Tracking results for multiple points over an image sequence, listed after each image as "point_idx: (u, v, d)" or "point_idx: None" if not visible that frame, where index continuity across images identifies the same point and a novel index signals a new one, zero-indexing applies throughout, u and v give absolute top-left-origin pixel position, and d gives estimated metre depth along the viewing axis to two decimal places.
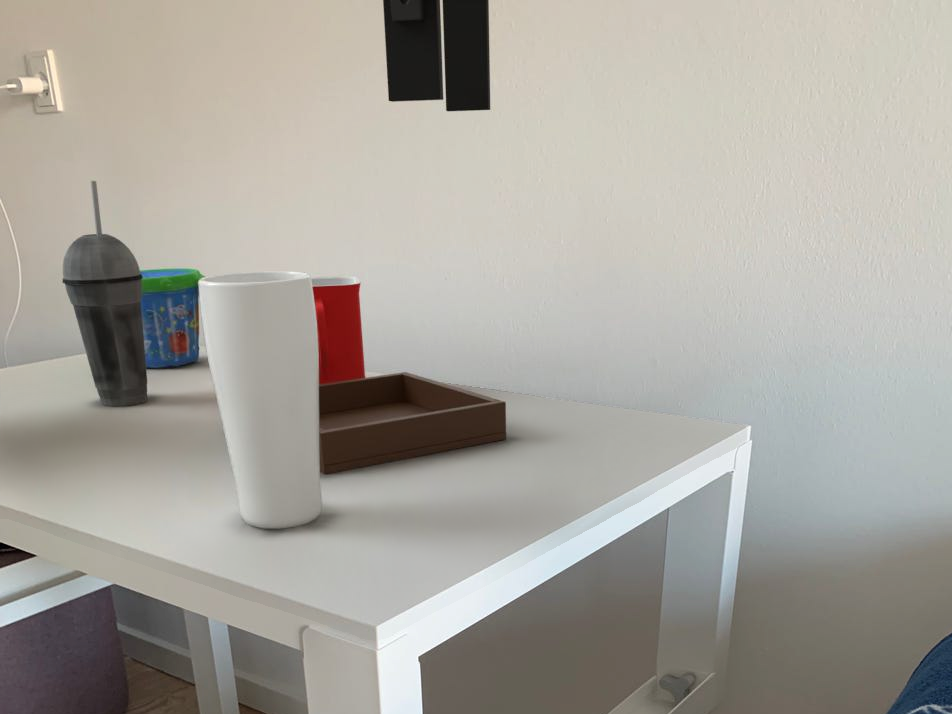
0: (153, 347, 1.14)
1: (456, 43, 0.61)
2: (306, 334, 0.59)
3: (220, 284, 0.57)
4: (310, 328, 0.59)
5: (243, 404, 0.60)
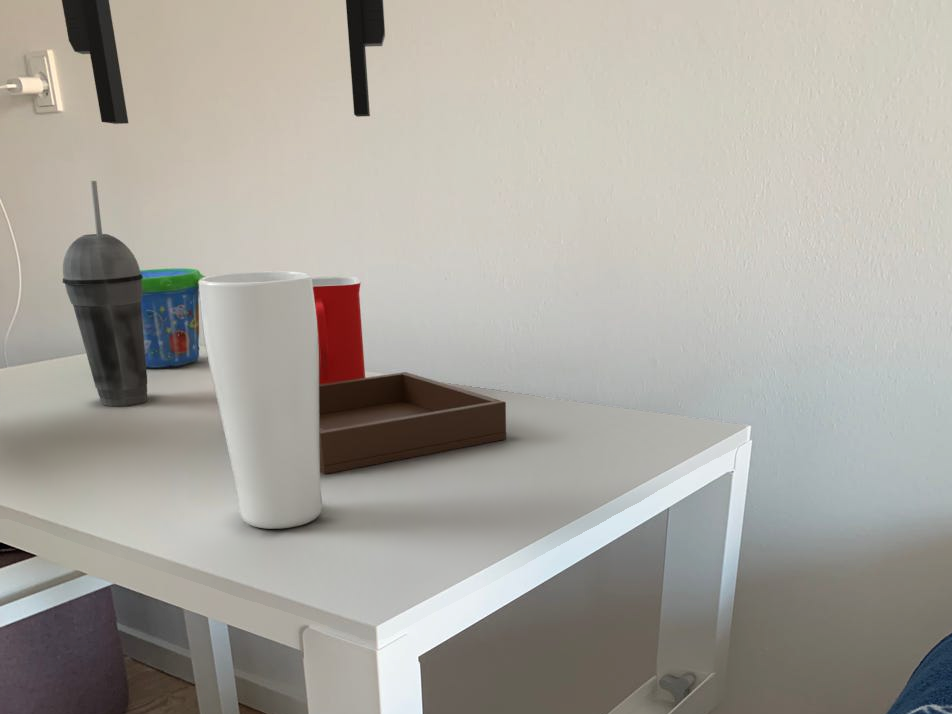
0: (153, 347, 1.14)
1: None
2: (306, 334, 0.59)
3: (220, 284, 0.57)
4: (310, 328, 0.59)
5: (243, 404, 0.60)
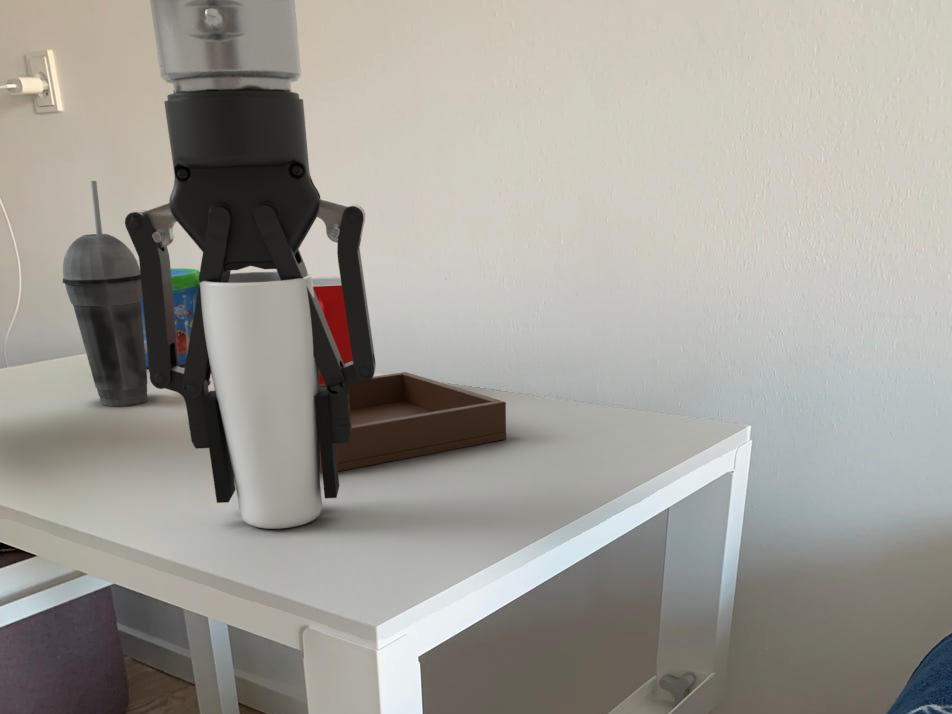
0: None
1: None
2: (306, 334, 0.59)
3: (221, 284, 0.57)
4: (310, 328, 0.59)
5: (243, 404, 0.60)
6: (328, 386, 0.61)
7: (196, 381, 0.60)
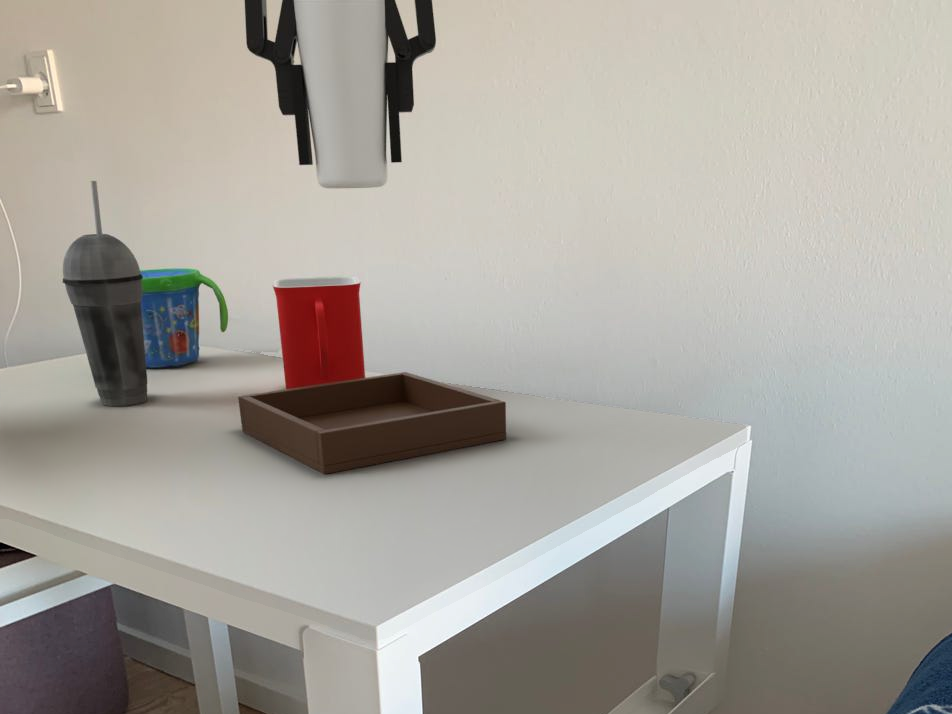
0: (153, 347, 1.14)
1: None
2: (380, 1, 0.70)
3: None
4: None
5: (326, 61, 0.70)
6: (396, 54, 0.72)
7: (285, 47, 0.71)
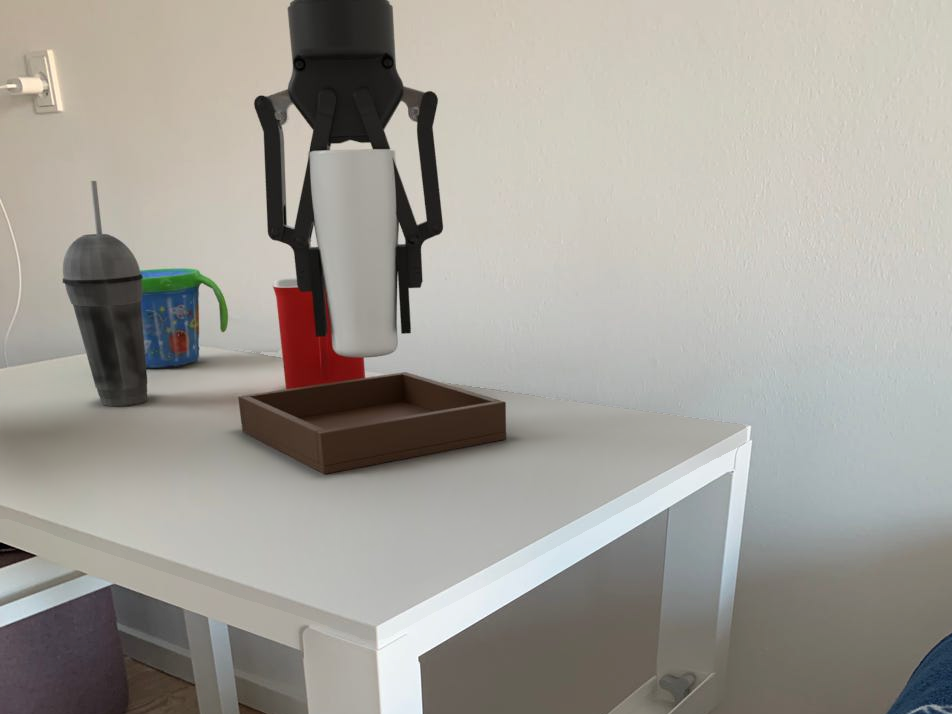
0: (153, 347, 1.14)
1: None
2: (391, 195, 0.76)
3: (328, 151, 0.73)
4: (394, 190, 0.76)
5: (342, 250, 0.76)
6: (406, 239, 0.78)
7: (303, 234, 0.77)
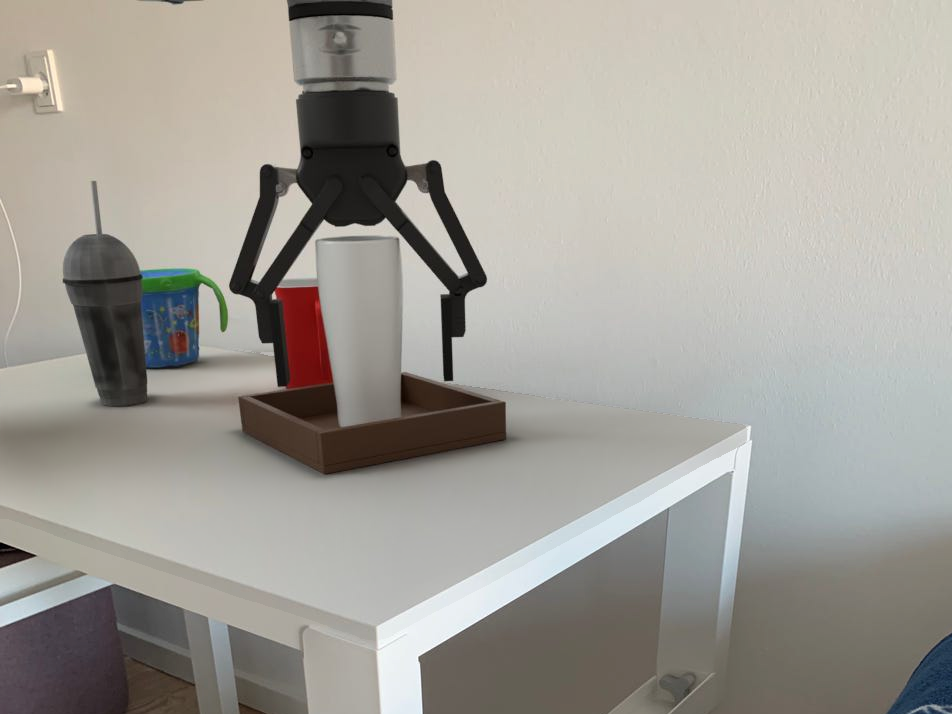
0: (153, 347, 1.14)
1: None
2: (396, 281, 0.78)
3: (335, 242, 0.76)
4: (399, 277, 0.79)
5: (348, 334, 0.79)
6: (452, 293, 0.79)
7: (266, 290, 0.79)
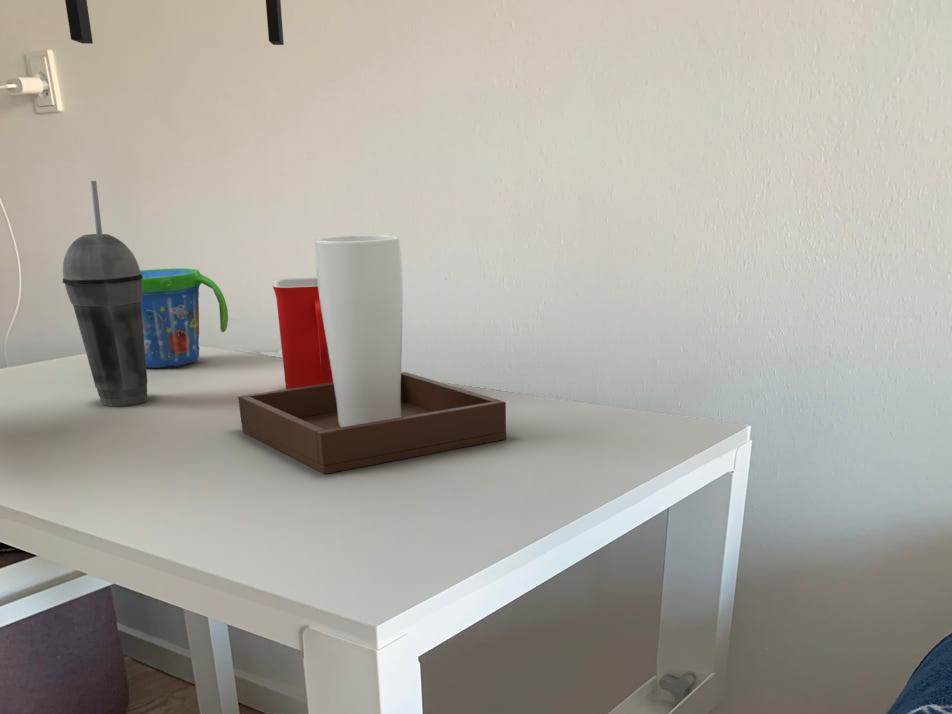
0: (153, 347, 1.14)
1: None
2: (396, 281, 0.78)
3: (335, 242, 0.76)
4: (399, 277, 0.79)
5: (348, 334, 0.79)
6: None
7: None
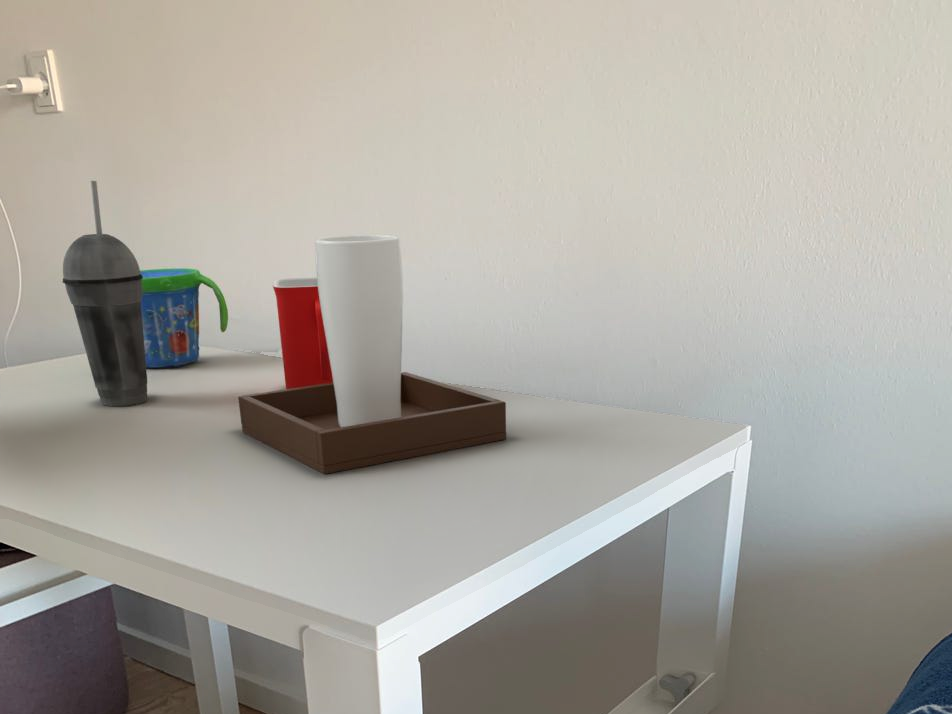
0: (153, 347, 1.14)
1: None
2: (396, 281, 0.78)
3: (335, 242, 0.76)
4: (398, 277, 0.79)
5: (348, 334, 0.79)
6: None
7: None
